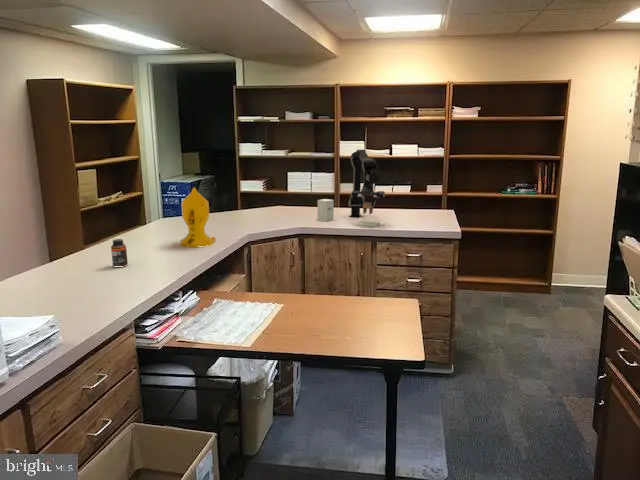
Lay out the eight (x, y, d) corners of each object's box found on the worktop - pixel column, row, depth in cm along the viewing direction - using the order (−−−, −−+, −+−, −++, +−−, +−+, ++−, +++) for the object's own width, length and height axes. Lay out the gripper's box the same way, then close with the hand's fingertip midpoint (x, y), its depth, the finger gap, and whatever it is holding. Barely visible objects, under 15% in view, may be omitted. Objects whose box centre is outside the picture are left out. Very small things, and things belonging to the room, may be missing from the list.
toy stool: (364, 212, 309) (365, 202, 307) (373, 212, 307) (373, 202, 306) (362, 213, 304) (362, 203, 303) (371, 214, 303) (371, 204, 301)
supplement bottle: (123, 263, 223) (120, 237, 221) (130, 265, 220) (128, 239, 217) (110, 266, 219) (107, 240, 216) (117, 268, 215) (115, 242, 213)
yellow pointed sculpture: (204, 237, 274) (202, 184, 268) (224, 245, 255) (222, 188, 248) (172, 241, 264) (168, 186, 258) (190, 250, 245) (187, 191, 239)
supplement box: (326, 221, 316) (326, 201, 313) (317, 220, 320) (317, 200, 317) (333, 219, 321) (333, 199, 319) (324, 218, 326) (324, 198, 323)
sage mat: (360, 221, 315) (360, 220, 314) (379, 223, 311) (379, 221, 311) (355, 225, 304) (355, 223, 303) (375, 226, 300) (375, 225, 300)
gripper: (349, 182, 297) (348, 209, 301) (381, 183, 291) (380, 211, 295) (354, 180, 307) (354, 206, 311) (385, 181, 301) (384, 208, 305)
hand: (368, 208), depth 305 cm, fingers closed on toy stool, 5 cm apart
